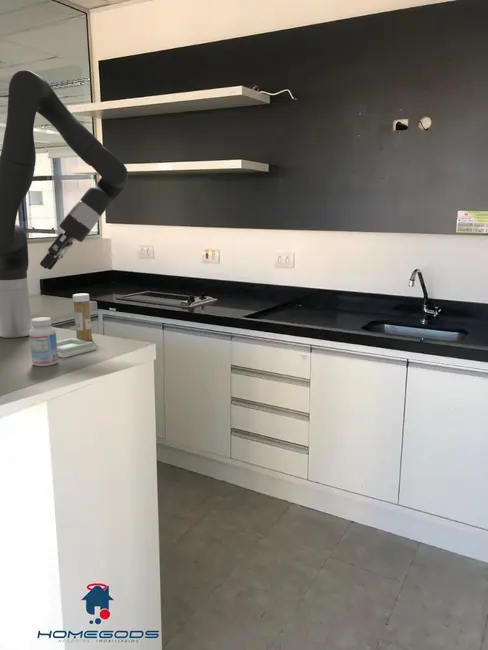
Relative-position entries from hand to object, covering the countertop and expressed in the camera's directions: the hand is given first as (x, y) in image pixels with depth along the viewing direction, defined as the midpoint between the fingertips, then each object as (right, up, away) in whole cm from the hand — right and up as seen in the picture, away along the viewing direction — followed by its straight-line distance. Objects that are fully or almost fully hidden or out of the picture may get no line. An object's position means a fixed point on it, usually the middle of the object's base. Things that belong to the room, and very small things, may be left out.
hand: (44, 267), depth 153 cm
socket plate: (+9, -23, -6) cm, 25 cm away
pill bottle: (+7, -26, -18) cm, 32 cm away
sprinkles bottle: (+9, -21, +6) cm, 23 cm away
